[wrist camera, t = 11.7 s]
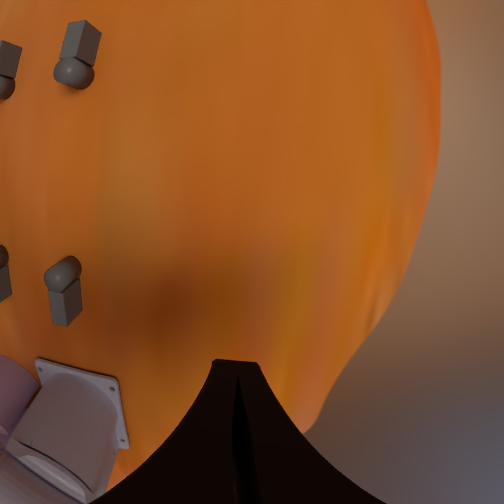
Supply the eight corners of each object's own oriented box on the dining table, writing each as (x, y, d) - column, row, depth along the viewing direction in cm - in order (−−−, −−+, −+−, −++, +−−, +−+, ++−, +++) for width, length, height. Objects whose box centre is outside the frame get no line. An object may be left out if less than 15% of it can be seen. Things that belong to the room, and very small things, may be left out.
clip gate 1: (84, 310, 19) (69, 327, 17) (66, 306, 19) (50, 322, 17) (104, 32, 14) (88, 19, 12) (83, 35, 14) (66, 23, 12)
